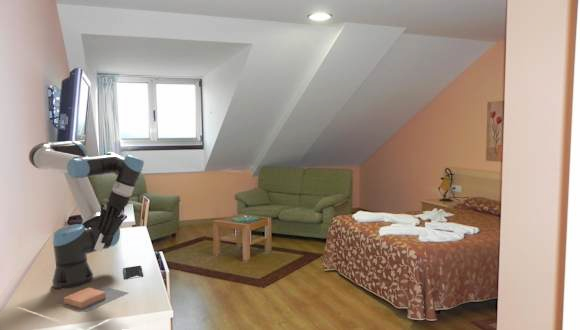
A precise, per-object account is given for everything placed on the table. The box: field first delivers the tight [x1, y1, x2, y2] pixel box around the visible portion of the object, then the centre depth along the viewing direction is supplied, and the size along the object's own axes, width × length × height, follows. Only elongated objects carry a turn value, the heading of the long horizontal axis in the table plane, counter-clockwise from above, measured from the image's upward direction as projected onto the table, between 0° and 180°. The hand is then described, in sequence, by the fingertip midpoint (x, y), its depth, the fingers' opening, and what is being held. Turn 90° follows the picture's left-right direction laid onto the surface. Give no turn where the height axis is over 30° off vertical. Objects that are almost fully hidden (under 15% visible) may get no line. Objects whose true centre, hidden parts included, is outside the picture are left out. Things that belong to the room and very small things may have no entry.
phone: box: [122, 265, 144, 280], centre depth 185 cm, size 8×1×15 cm
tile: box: [63, 287, 106, 308], centre depth 157 cm, size 10×2×10 cm
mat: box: [55, 284, 129, 313], centre depth 160 cm, size 18×18×1 cm
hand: (97, 249), depth 167 cm, fingers closed
